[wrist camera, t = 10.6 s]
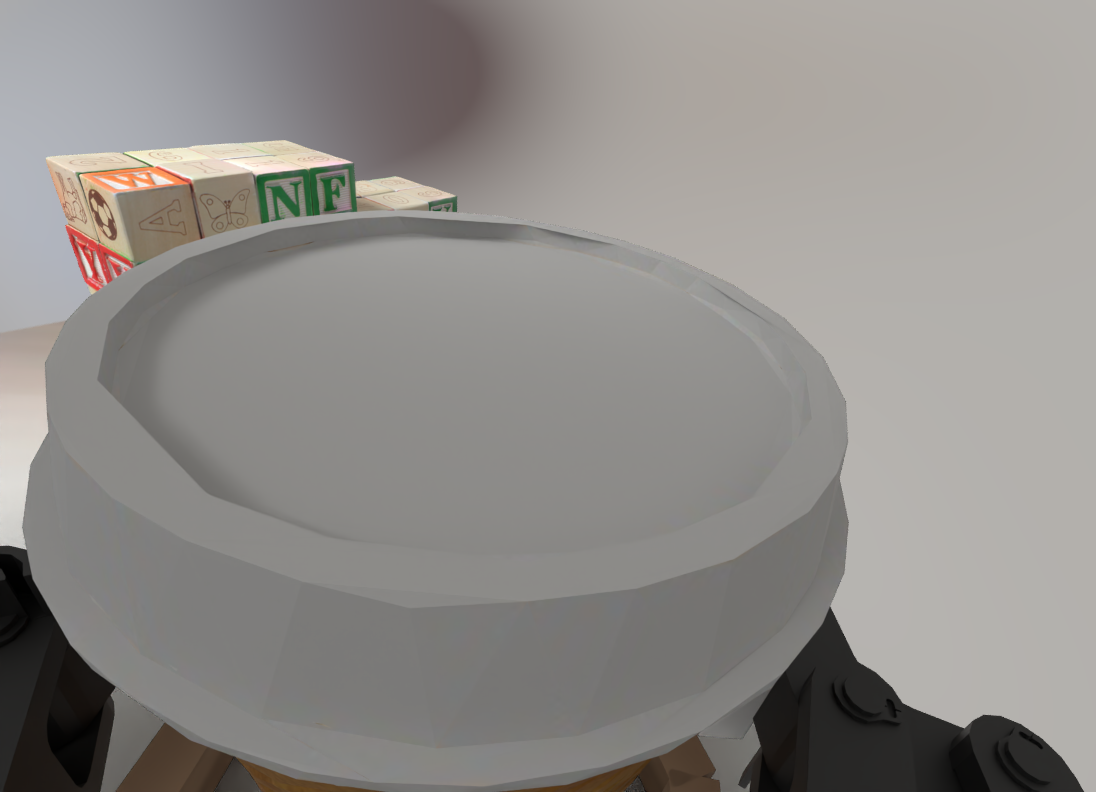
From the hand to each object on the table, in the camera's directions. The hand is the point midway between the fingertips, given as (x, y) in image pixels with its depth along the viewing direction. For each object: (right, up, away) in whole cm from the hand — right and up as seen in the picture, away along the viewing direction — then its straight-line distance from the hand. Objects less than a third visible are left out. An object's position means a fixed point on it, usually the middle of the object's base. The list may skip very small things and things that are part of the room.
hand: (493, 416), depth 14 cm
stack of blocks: (-15, +4, +25) cm, 29 cm away
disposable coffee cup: (-1, -9, 0) cm, 9 cm away
